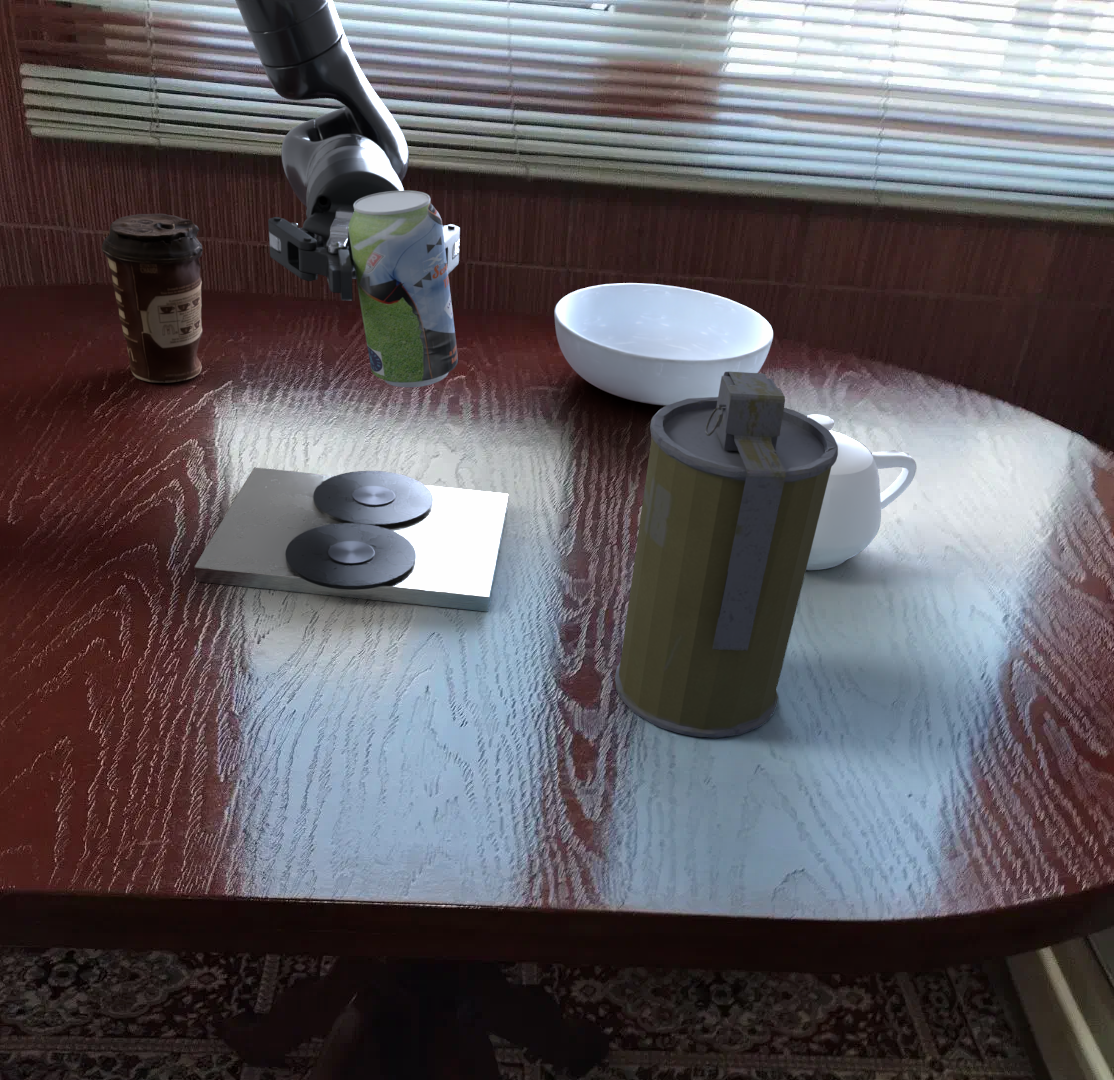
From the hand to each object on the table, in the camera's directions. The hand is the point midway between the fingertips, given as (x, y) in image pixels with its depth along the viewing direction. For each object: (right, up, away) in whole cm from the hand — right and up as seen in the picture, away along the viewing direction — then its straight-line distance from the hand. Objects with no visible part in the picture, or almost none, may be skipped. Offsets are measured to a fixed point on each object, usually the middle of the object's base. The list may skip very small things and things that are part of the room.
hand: (376, 285), depth 77 cm
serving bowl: (+21, +5, +41) cm, 47 cm away
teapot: (+30, -14, +17) cm, 37 cm away
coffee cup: (-24, +4, +34) cm, 42 cm away
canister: (+20, -26, 0) cm, 33 cm away
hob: (-3, -15, +11) cm, 19 cm away
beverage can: (+1, -4, +7) cm, 8 cm away
